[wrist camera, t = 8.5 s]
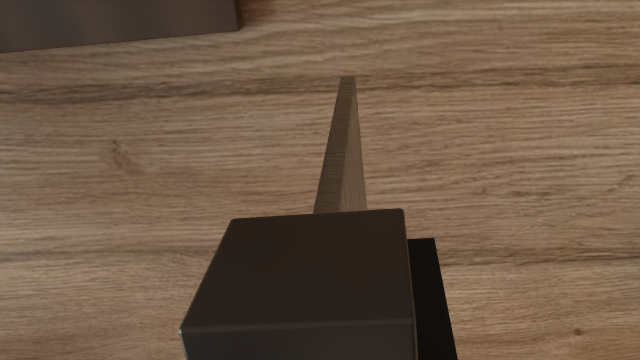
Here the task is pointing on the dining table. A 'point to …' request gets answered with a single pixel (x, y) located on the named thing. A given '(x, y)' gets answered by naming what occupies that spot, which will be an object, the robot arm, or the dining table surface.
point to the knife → (311, 273)
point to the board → (110, 21)
